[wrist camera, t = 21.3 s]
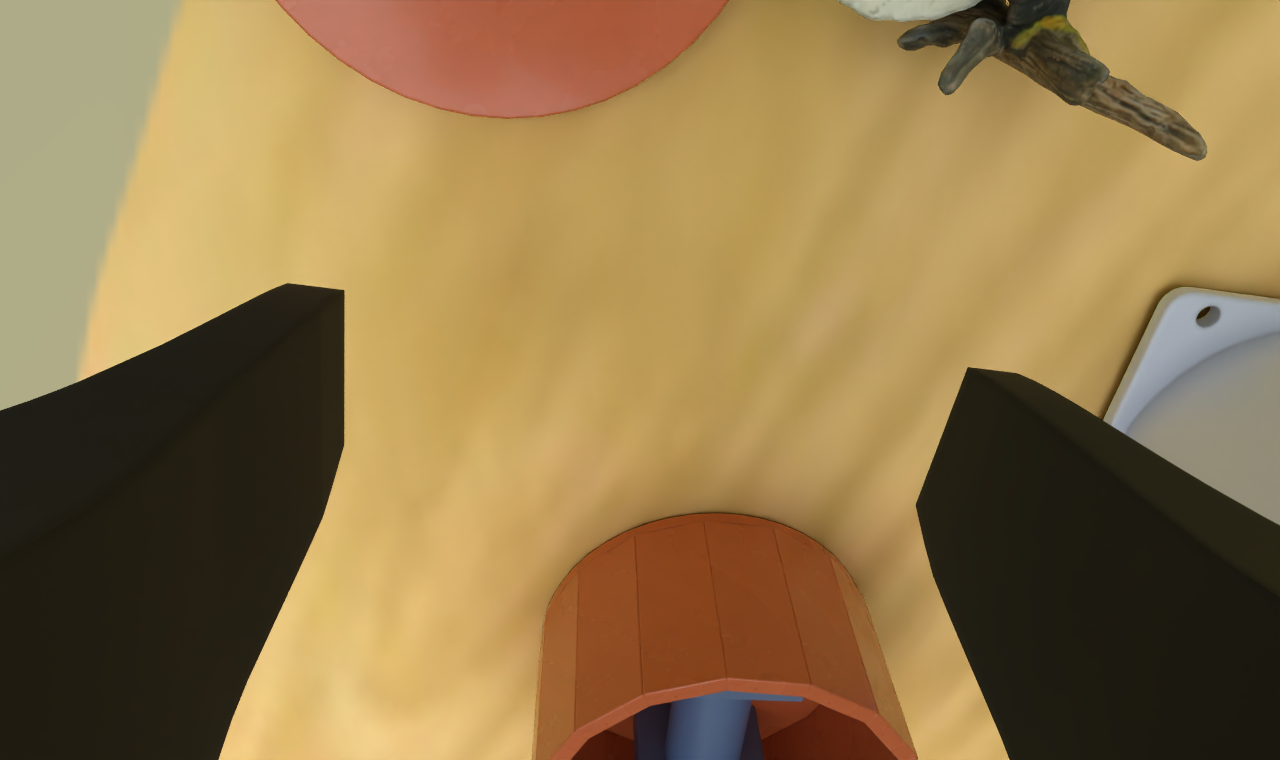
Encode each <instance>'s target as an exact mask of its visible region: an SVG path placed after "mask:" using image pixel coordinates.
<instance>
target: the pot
mask: <svg viewBox="0 0 1280 760" xmlns="http://www.w3.org/2000/svg"><path fill="white" fill-rule="evenodd" d="M724 691H735V692H748V693H760V694H772V695H784V696H797V697H804V698H803V701H802V702H794V701H766V700H752V705H751V706H754V707H755V709H756V714H757V719H758V725H759V731H760V736H761V742H762V748H763V753H764V759H765V760H918V756H917V753H916V751H915V748H914V745H913V742H912V739H911V736H910V733H909V730H908V727H907V724H906V721H905V718H904V715H903V712H902V709H901V706H900V703H899V701H898V698H897V695H896V692H895V689H894V686H893V683H892V680H891V677H890V674H889V671H888V668H887V665H886V662H885V659H884V656H883V653H882V651H881V648H880V645H879V642H878V639H877V636H876V633H875V630H874V627H873V624H872V621H871V618H870V615H869V612H868V609H867V606H866V603H865V601H864V598H863V595H862V594H861V593H860V592H859V590H858V589H857V587H856V585H855V583H854V581H853V579H852V577H851V576H850V575H849V573H848V572H847V570H846V569H845V567H844V566H843V565H842V564H841V563H840V562H839V561H838V560H837V559H836V558H835V557H834V555H833V554H832V553H831V552H829V551H828V550H827V549H825V548H824V547H823V546H821V545H820V544H819V543H817V542H816V541H815V540H813V539H811V538H809V537H808V536H806V535H804V534H802V533H801V532H799V531H796V530H794V529H792V528H789V527H787V526H784V525H782V524H779V523H776V522H772V521H768V520H765V519H761V518H757V517H751V516H744V515H738V514H721V513H708V514H690V515H684V516H678V517H672V518H667V519H663V520H659V521H655V522H652V523H648V524H645V525H642V526H640V527H637V528H635V529H632V530H629V531H627V532H625V533H623V534H621V535H619V536H617V537H615V538H613V539H611V540H609V541H607V542H606V543H604V544H603V545H601V546H600V547H598V548H597V549H595V550H594V551H592V552H591V553H590V554H588V555H587V556H586V557H585V558H584V559H583V560H582V561H581V562H579V563H578V564H577V565H576V566H575V567H574V568H573V569H572V571H571V572H570V573H569V574H568V575H567V576H566V577H565V579H564V580H563V581H562V583H561V584H560V586H559V587H558V589H557V591H556V592H555V594H554V595H553V597H552V600H551V602H550V604H549V607H548V609H547V611H546V615H545V620H544V624H543V632H542V642H541V649H540V656H539V665H538V679H537V692H536V706H535V720H534V734H533V747H532V760H634V738H633V721H634V714H636V713H638V712H640V711H642V710H644V709H645V708H647V707H649V706H652V705H657V704H662V703H671V702H673V701H678V700H683V699H688V698H693V697H698V696H703V695H708V694H713V693H719V692H724Z"/></svg>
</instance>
